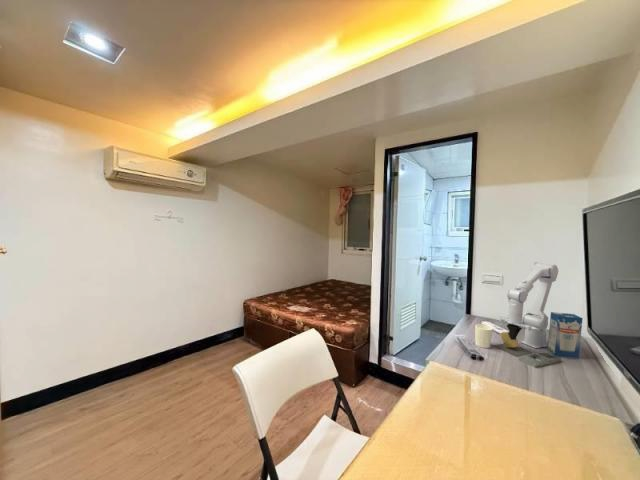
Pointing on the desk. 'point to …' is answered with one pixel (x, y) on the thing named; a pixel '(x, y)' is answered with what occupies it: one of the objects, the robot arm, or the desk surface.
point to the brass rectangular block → (508, 340)
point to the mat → (513, 350)
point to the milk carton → (565, 335)
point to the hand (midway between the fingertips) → (513, 339)
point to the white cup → (483, 335)
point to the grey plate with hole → (543, 356)
